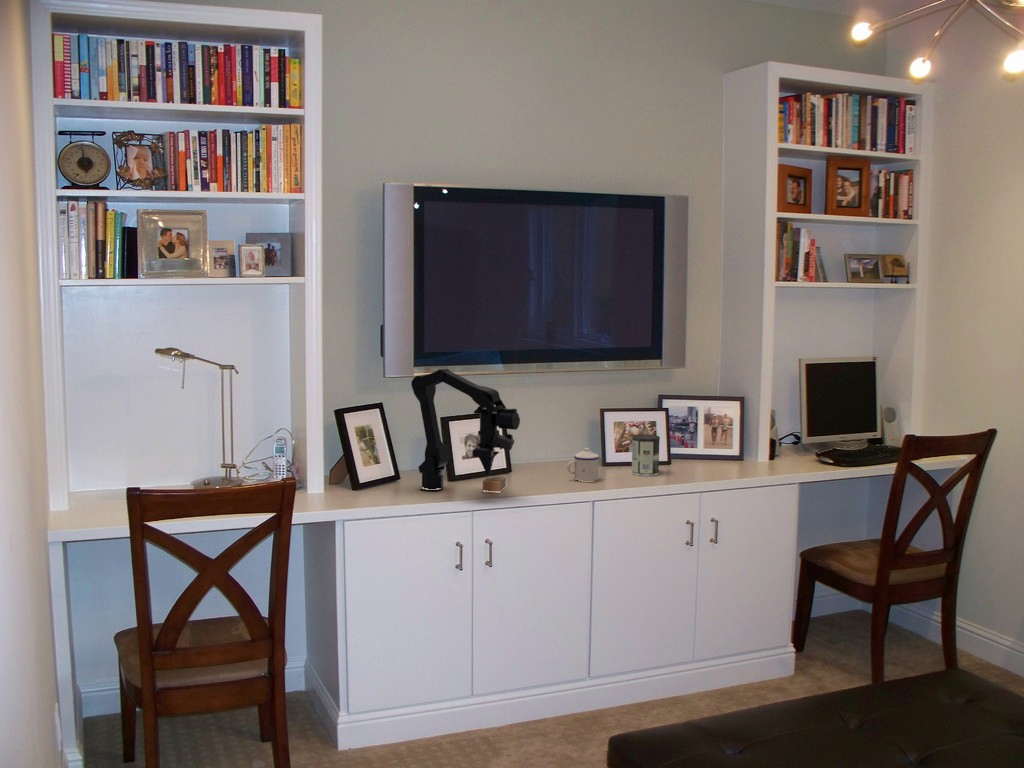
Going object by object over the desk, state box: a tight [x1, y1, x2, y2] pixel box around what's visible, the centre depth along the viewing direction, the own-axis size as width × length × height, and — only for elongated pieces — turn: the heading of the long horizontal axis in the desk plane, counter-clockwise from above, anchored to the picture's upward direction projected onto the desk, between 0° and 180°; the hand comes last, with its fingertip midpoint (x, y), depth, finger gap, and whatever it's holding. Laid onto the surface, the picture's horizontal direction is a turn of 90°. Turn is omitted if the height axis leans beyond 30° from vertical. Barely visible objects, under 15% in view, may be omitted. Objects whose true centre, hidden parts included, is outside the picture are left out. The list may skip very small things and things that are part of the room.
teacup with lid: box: [566, 447, 600, 482], centre depth 334 cm, size 12×9×12 cm
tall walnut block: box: [482, 475, 506, 491], centre depth 318 cm, size 6×4×8 cm
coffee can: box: [631, 433, 661, 477], centre depth 347 cm, size 10×10×14 cm
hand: (488, 473), depth 308 cm, fingers closed
